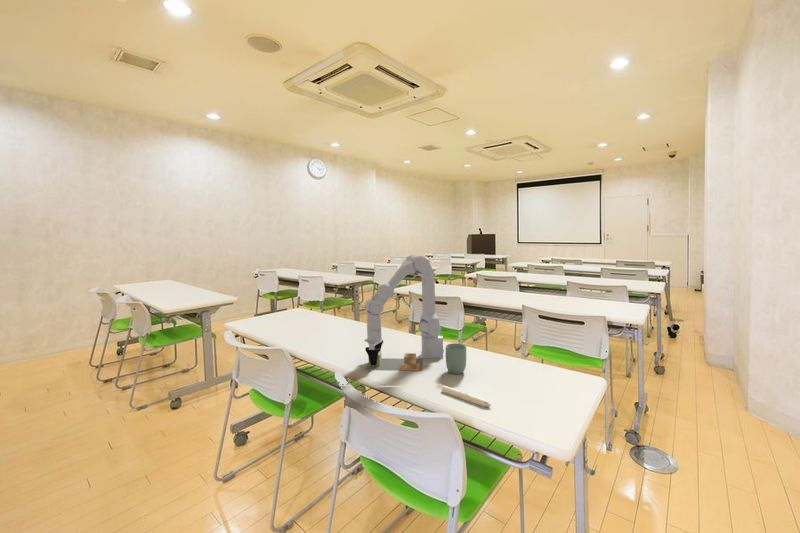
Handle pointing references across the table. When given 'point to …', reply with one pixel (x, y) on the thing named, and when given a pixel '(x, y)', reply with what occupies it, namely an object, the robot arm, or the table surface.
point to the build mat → (395, 365)
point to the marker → (466, 396)
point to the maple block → (410, 361)
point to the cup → (456, 358)
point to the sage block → (377, 360)
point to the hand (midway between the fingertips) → (375, 361)
